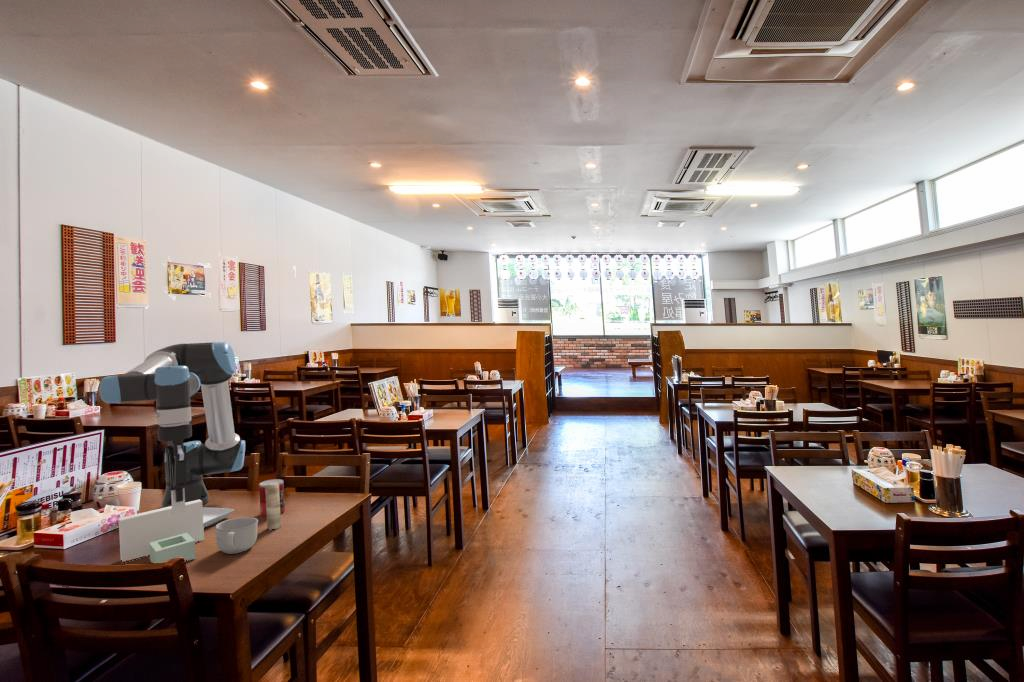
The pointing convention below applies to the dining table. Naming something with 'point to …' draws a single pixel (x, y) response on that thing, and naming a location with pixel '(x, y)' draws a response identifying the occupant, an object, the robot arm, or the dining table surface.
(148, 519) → the wall
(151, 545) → the holed block
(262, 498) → the canned food
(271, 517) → the dowel
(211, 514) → the salad plate
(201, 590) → the dining table surface
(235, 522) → the teacup
